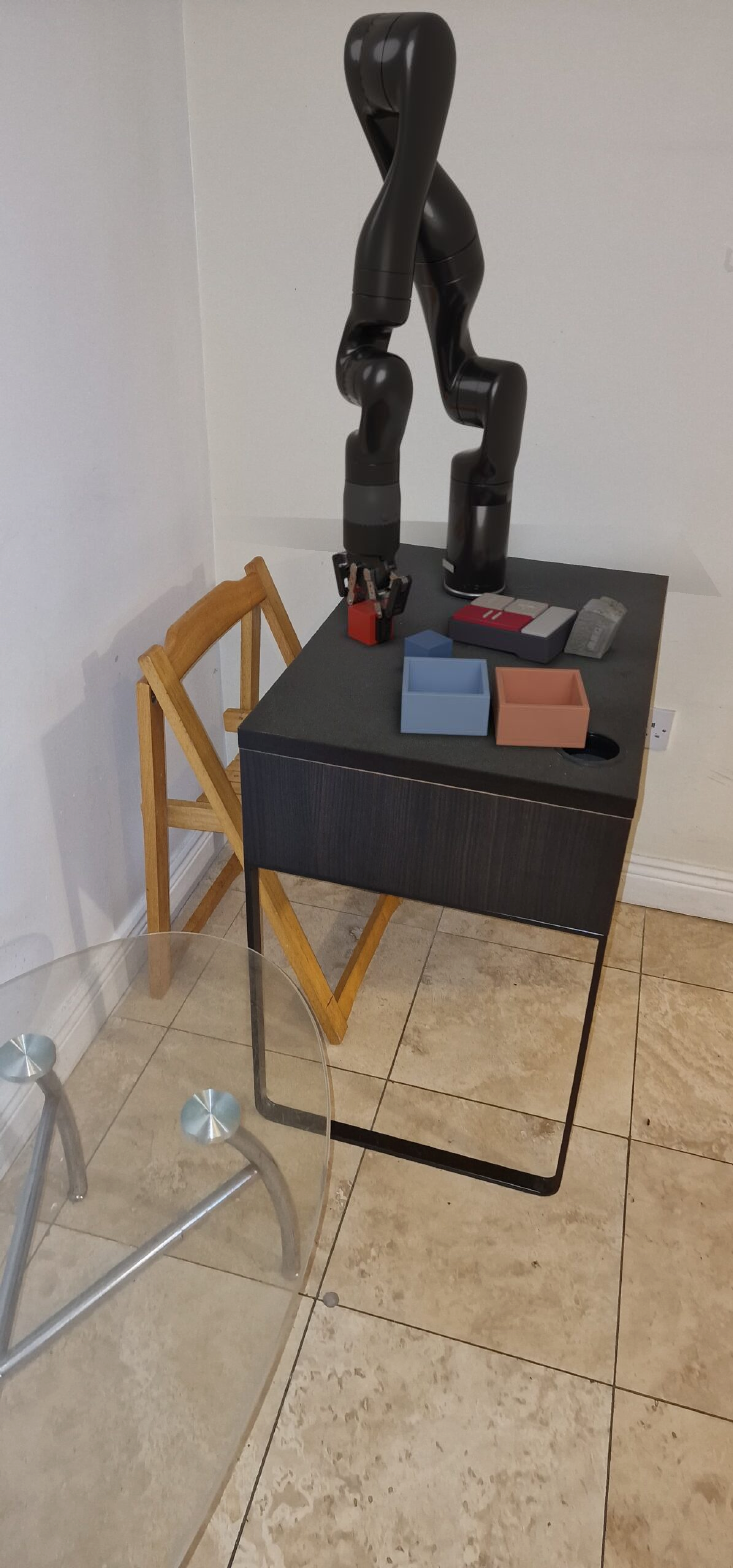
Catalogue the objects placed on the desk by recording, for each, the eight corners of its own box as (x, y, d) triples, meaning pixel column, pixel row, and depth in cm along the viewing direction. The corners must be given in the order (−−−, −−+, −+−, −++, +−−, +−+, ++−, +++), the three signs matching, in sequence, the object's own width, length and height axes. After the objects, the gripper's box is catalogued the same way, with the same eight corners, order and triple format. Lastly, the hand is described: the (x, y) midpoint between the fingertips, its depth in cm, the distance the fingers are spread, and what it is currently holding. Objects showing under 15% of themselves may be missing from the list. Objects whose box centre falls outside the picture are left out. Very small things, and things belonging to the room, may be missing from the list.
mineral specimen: (556, 658, 135) (565, 597, 132) (572, 647, 142) (581, 589, 139) (612, 667, 132) (622, 605, 129) (625, 655, 139) (635, 596, 137)
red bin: (492, 704, 125) (495, 666, 122) (574, 707, 125) (579, 669, 122) (496, 745, 117) (499, 705, 114) (584, 748, 116) (590, 708, 113)
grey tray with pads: (483, 589, 147) (581, 606, 140) (483, 617, 149) (579, 636, 142) (446, 614, 139) (548, 634, 132) (446, 643, 141) (546, 664, 134)
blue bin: (402, 693, 127) (404, 656, 124) (483, 696, 127) (486, 659, 124) (400, 733, 119) (401, 693, 116) (486, 736, 118) (490, 696, 116)
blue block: (403, 669, 133) (404, 638, 131) (427, 659, 136) (428, 629, 133) (427, 680, 130) (428, 649, 128) (451, 670, 133) (453, 639, 130)
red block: (348, 635, 142) (348, 606, 139) (371, 627, 144) (371, 598, 142) (369, 646, 139) (369, 615, 137) (392, 637, 142) (393, 607, 139)
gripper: (431, 521, 130) (425, 644, 139) (357, 495, 139) (356, 613, 148) (387, 533, 126) (385, 659, 135) (314, 506, 135) (316, 626, 144)
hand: (370, 634), depth 142 cm, fingers closed on red block, 4 cm apart
